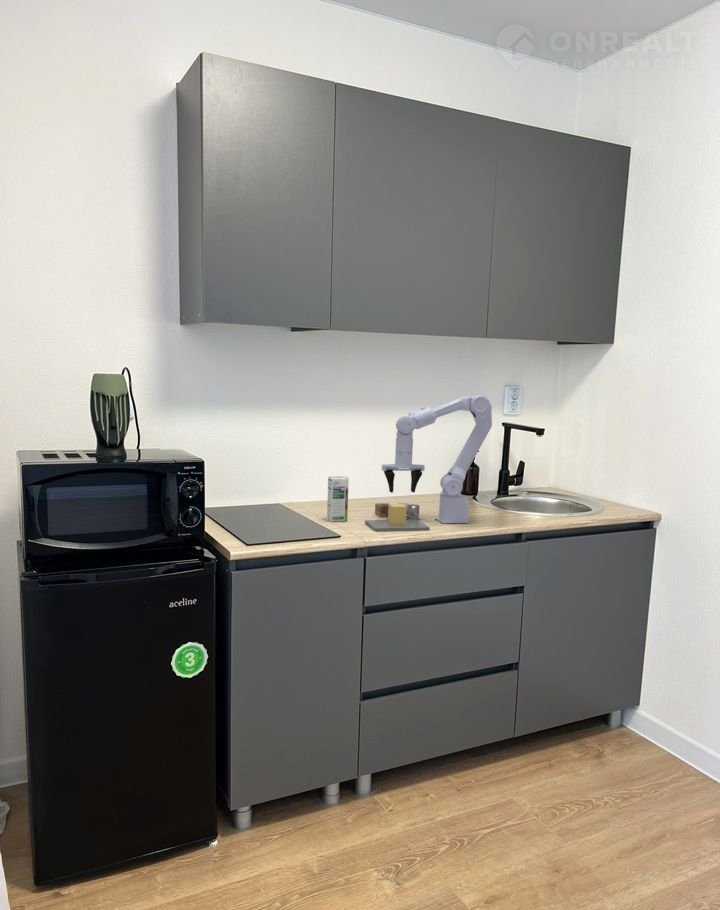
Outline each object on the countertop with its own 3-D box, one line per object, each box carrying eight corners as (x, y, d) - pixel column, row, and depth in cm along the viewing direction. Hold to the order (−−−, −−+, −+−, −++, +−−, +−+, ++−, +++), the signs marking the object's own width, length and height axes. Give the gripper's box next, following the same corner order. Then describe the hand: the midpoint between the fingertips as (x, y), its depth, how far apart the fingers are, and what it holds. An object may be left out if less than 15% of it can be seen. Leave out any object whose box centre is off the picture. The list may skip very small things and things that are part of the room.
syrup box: (330, 522, 229) (332, 478, 227) (326, 518, 235) (328, 475, 233) (347, 521, 231) (349, 478, 229) (343, 517, 236) (344, 475, 235)
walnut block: (388, 514, 246) (388, 503, 245) (393, 517, 241) (393, 506, 240) (374, 514, 244) (375, 503, 244) (379, 517, 239) (380, 506, 239)
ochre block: (401, 521, 228) (401, 503, 228) (405, 525, 224) (406, 506, 223) (387, 522, 227) (388, 504, 226) (392, 525, 223) (393, 506, 222)
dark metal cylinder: (416, 518, 240) (417, 504, 239) (420, 521, 236) (421, 506, 235) (405, 518, 239) (406, 504, 238) (409, 521, 235) (409, 506, 234)
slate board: (416, 522, 234) (417, 519, 233) (429, 530, 222) (429, 527, 222) (364, 523, 229) (365, 520, 229) (375, 531, 217) (375, 528, 217)
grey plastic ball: (407, 514, 247) (408, 503, 246) (410, 516, 243) (410, 505, 242) (396, 514, 246) (397, 502, 245) (398, 516, 242) (399, 505, 242)
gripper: (420, 450, 240) (418, 489, 242) (379, 450, 237) (378, 490, 238) (427, 453, 234) (425, 493, 235) (385, 452, 230) (384, 493, 231)
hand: (402, 492), depth 236 cm, fingers open, 7 cm apart
